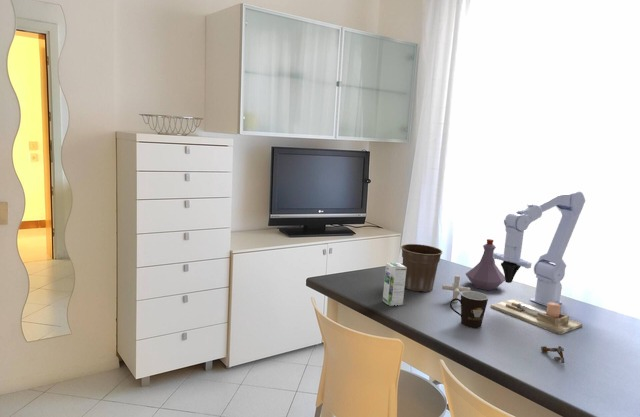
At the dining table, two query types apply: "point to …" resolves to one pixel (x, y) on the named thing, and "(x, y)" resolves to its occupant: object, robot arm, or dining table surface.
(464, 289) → the pipe connector
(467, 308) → the coffee mug
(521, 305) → the lock pin
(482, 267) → the flask
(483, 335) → the dining table surface
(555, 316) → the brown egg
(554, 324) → the dock
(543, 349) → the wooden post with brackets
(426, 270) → the plant pot
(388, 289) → the syrup box
